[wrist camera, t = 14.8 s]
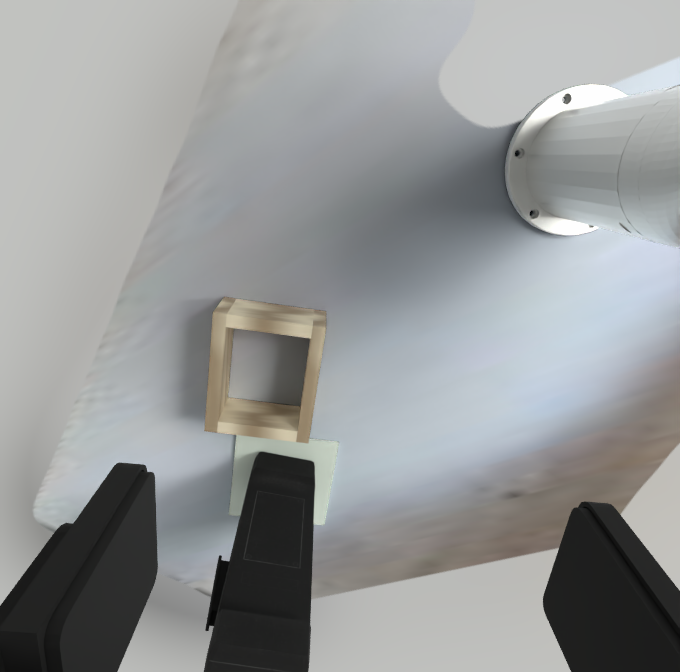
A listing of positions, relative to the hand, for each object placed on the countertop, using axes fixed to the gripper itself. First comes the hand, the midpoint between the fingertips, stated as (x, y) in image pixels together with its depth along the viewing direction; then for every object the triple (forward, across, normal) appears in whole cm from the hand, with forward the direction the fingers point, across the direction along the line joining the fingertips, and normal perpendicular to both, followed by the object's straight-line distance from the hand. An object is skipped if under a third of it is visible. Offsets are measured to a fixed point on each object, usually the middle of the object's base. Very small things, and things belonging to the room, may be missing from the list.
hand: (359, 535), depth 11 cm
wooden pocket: (+37, +6, +13) cm, 40 cm away
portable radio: (+37, +4, +26) cm, 46 cm away
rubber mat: (+37, +4, +27) cm, 46 cm away
